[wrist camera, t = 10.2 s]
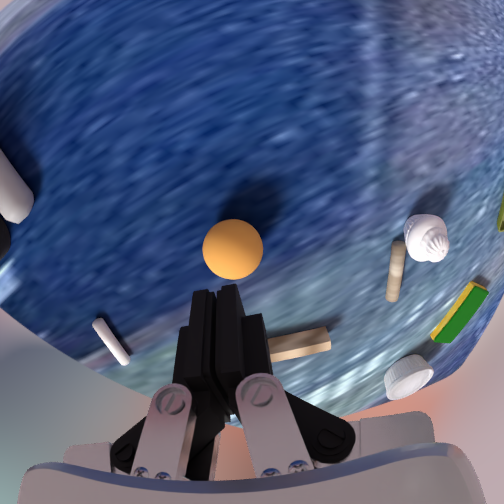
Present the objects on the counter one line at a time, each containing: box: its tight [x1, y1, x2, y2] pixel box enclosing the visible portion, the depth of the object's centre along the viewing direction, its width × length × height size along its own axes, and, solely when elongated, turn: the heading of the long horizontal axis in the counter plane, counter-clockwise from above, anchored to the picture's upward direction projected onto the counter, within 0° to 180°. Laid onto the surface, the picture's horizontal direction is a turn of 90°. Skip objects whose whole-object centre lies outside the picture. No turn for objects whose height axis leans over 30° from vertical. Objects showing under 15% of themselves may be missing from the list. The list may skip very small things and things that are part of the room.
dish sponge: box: [430, 281, 489, 343], centre depth 42 cm, size 7×14×2 cm, turn 160°
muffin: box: [404, 214, 449, 262], centre depth 29 cm, size 6×6×7 cm
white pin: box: [92, 318, 130, 365], centre depth 37 cm, size 2×2×9 cm
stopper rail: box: [268, 326, 331, 362], centre depth 39 cm, size 18×2×3 cm, turn 101°
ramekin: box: [384, 354, 434, 400], centre depth 48 cm, size 11×11×5 cm
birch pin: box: [385, 240, 406, 302], centre depth 34 cm, size 2×2×9 cm
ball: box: [203, 219, 263, 279], centre depth 28 cm, size 6×6×6 cm
